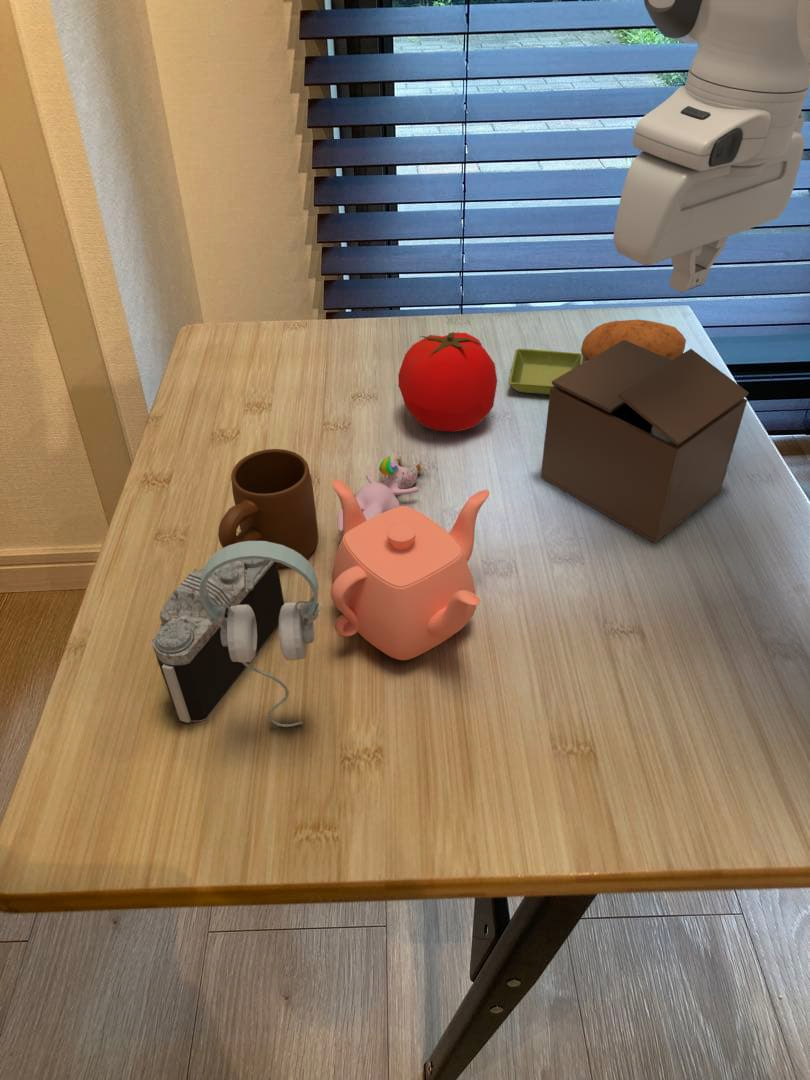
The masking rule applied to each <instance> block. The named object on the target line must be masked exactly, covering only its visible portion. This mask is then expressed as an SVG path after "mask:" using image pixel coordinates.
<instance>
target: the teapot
mask: <svg viewBox="0 0 810 1080" xmlns="http://www.w3.org/2000/svg"><path fill="white" fill-rule="evenodd" d="M331 484H332V487H333V489H334V491H335V493H336V494H337V496H338V498H339V503H340V504H341V505H340V506H341V507H342V511H343V530H342V539H341V540H340V544H339V546H338V549H337V551H336V555H335V558H334V562H333V566H332V567H333V568H332V576H331V589H330V596H331V600H332V602H333V604H334V605H335V607H336V608H337V610H339V612H341V613H342V614H341V615H339V616H338V617H337V618H336V619H335V621H334V629H335V632H336V633H337V635H339V636H340V637H344V638H346V637H351V636H354V635H356V634H357V633H358V635H360V636H361V637H363V639H365V640H366V641H367V642H368V643H370V645H372V646H373V647H375V648H376V649H377V650H379V651H380V652H382V653H383V654H385V655H387V656H388V657H390V658H392V659H396V660H398V661H409V660H411V659H413V658H416V657H418V656H420V655H423V654H424V653H426V652H428V651H429V650H431V649H433V648H435V647H437V646H438V645H440V644H442V643H444V642H445V641H446V640H448V639H450V638H451V637H452V636H454V635H455V634H457V633H458V632H459V631H461V630H462V629H463V628H464V627H465V626H466V625H467V624H469V622H470V620H472V618H473V617H474V615H475V613H476V609H477V606H479V605H480V604H481V599H480V597H479V596H477V593H476V584H475V581H474V577H473V575H472V572H471V569H470V567H469V564H468V563H469V561H470V558H471V556H472V553H473V550H474V545H475V529H476V521H477V517H478V513H479V512H480V510H481V508H482V506H483V505H484V503H485V502H486V500H487V499H488V498H489V496H490V490H488V489H483V490H480V491H478V492H476V493H474V494H473V495H471V497H469V498H468V499H467V500H466V502H465V504H464V505H463V506H462V508H461V510H460V511H459V513H458V516H457V517H456V520H455V522H454V524H453V525H452V528H451V529H450V531H449V532H448V531H447V530H445V529H444V528H443V527H442V526H441V525H439V523H437V522H436V521H435V520H434V519H431V518H430V517H428V516H427V515H426V514H424V513H422V512H421V511H419V510H417V509H414V508H413V507H410V506H406V505H400V506H399V507H396V508H393V509H390V510H388V511H386V512H384V513H381V514H379V515H377V516H375V517H373V518H371V519H369V520H366V518H365V516H364V514H363V512H362V510H361V508H360V506H359V504H358V501H357V500H356V498H355V494H354V492H353V490H352V489H351V488H350V487H349V486H348V484H347V483H345V482H344V481H343V480H341V479H337V478H335V479H333V480H332V483H331Z"/></svg>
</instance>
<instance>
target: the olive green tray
mask: <svg viewBox="0 0 810 1080" xmlns="http://www.w3.org/2000/svg"><path fill="white" fill-rule="evenodd" d="M512 360H513V361H512V365H511V370H510V373H509V377H508V378H509V379H508V383H509V385H510V386H511V387H512V388H513V389H514V390H515V391H517V392H519V393H522V394H523V393H524V394H537V395H549V396H550V388H551V387H553V386H554V385H552V381H553V380H555V379H557V378H558V377H560V376H562V375H563V374H565V373H567V372H569V371H570V370H572V369H574V368H576V367H577V366H579V365H581V364H583V362H584V361H583V360H584V358H583V354H582V353H579V352H568V351H555V350H544V349H533V348H532V349H530V348H517V349H515V350H514V356H513V359H512Z"/></svg>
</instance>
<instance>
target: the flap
mask: <svg viewBox="0 0 810 1080" xmlns="http://www.w3.org/2000/svg"><path fill="white" fill-rule="evenodd" d="M749 394H750V392H749V391H747V390H746V389H744V387H742V386H741V385H740V384H738V383H736V382H735V380H733V379H732V378H730V377H729V376H728V375H726V374H725V373H723V371H722V370H720V369H718V368H717V367H716V366H715V365H714V364H712V363H711V362H709V361H708V360H707V359H706V358H704V357H703V356H702V355H700V353H698V352H696V351H695V350H694V349H692V348H689V349H687V350H686V351H685V352H683V354H681V355H680V356H678V357H677V358H675V359H673V360H672V361H670V362H669V363H667V364H665V365H664V366H662V367H661V368H659V369H657V370H656V371H654V372H653V373H651V374H649V375H648V376H646V377H645V378H643V379H641V380H640V381H638V382H637V383H635V384H633V385H632V386H630V387H629V388H627V389H625V390H624V391H622V392H621V393H619V394H618V397H619V398H620V399H621V400H622V401H624V402H625V403H626V404H627V405H629V406H630V407H631V408H632V409H633V410H635V411H636V412H637V413H638V414H640V415H641V416H642V417H643V418H644V419H646V420H647V421H648V422H649V423H650V424H652V425H653V426H654V427H655V428H657V429H658V430H659V431H660V432H661V433H663V434H664V435H665V436H666V437H667V438H669V439H670V440H671V441H672V442H674V443H675V444H676V445H679V444H680V443H682V442H683V441H684V440H686V439H687V438H689V437H690V436H691V435H693V434H694V433H696V432H697V431H698V430H700V429H701V428H703V427H704V426H705V425H707V424H708V423H710V422H711V421H712V420H714V419H715V418H717V417H718V416H719V415H721V414H722V413H724V412H725V411H726V410H728V409H729V408H731V407H732V406H733V405H735V404H736V403H738V402H739V401H740V400H742V399H743V398H744V399H746V398H747V397H748V396H749Z"/></svg>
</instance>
